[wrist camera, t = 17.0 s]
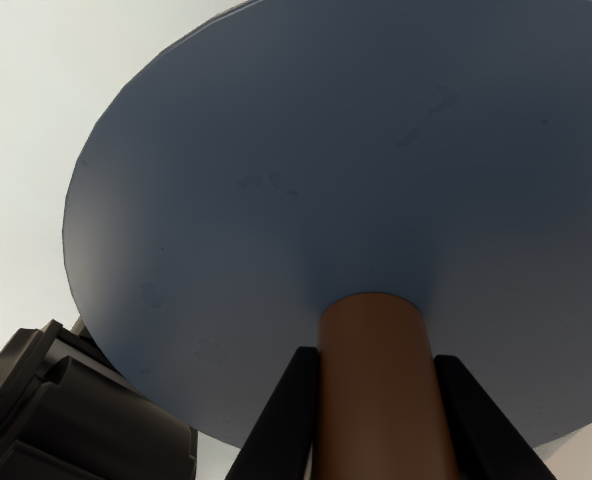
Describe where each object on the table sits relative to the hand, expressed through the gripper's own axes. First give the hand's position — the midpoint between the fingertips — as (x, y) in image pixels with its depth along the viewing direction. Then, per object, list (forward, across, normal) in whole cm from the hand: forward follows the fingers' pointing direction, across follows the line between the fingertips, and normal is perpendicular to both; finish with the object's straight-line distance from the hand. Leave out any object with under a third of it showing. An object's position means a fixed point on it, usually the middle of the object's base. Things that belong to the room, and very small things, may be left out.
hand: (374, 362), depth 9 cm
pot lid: (+1, 0, 0) cm, 1 cm away
